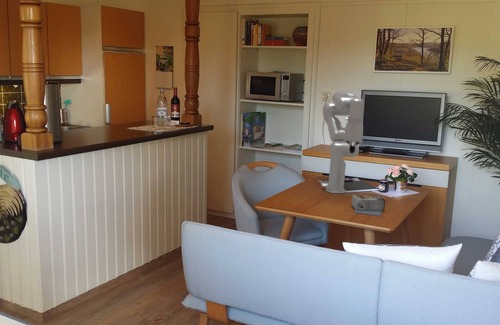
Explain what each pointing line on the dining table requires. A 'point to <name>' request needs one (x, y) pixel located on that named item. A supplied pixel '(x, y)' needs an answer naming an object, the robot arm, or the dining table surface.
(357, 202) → the coffee box
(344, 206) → the dining table surface
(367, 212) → the mat
